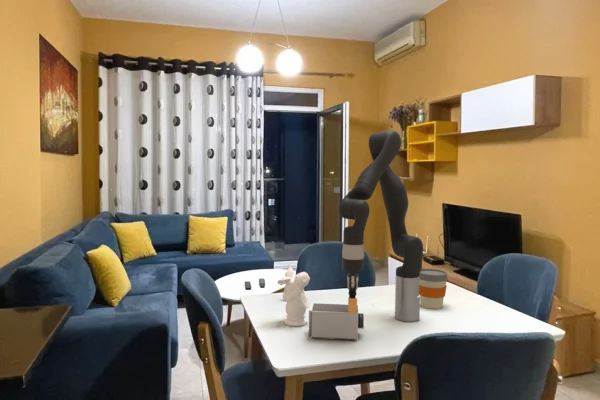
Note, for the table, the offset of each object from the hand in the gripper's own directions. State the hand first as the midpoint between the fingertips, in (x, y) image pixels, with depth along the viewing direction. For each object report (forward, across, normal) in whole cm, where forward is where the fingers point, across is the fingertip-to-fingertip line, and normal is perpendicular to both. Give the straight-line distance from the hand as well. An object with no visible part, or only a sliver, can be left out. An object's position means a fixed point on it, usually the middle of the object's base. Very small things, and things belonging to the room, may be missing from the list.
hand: (352, 305), depth 159 cm
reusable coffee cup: (+12, +42, -35) cm, 56 cm away
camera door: (+11, -3, +6) cm, 13 cm away
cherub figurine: (+12, +12, +23) cm, 28 cm away
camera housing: (+12, +2, +6) cm, 13 cm away
